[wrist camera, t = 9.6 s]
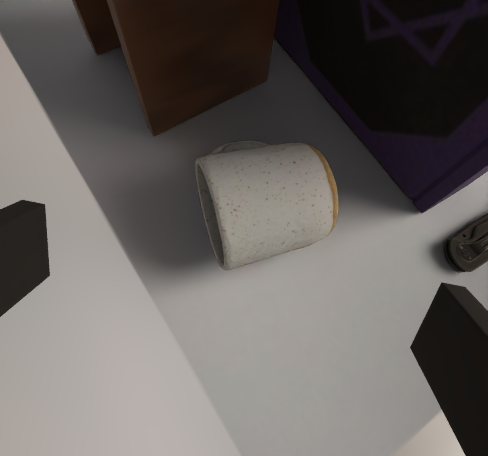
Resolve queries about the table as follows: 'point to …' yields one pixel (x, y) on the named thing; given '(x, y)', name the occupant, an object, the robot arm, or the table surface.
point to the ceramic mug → (265, 199)
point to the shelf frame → (184, 50)
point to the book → (401, 82)
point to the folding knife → (469, 247)
